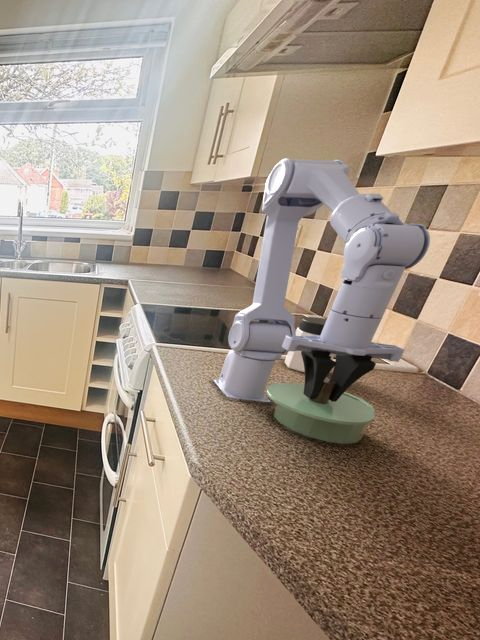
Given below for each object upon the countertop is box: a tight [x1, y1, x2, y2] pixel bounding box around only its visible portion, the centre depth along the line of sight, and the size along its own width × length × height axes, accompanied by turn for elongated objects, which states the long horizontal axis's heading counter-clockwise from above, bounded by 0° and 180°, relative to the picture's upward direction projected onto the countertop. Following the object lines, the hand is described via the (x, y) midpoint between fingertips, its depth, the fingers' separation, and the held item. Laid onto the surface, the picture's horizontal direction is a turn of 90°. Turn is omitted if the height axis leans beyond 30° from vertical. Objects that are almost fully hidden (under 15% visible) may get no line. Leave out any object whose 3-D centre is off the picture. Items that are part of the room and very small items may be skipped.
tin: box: [273, 382, 376, 445], centre depth 74 cm, size 13×13×6 cm
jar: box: [284, 316, 336, 374], centre depth 101 cm, size 9×8×12 cm
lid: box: [265, 377, 376, 425], centre depth 65 cm, size 14×14×5 cm
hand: (319, 397), depth 66 cm, fingers closed on lid, 2 cm apart
